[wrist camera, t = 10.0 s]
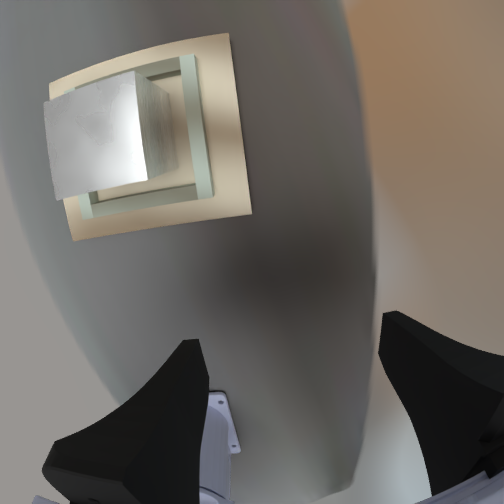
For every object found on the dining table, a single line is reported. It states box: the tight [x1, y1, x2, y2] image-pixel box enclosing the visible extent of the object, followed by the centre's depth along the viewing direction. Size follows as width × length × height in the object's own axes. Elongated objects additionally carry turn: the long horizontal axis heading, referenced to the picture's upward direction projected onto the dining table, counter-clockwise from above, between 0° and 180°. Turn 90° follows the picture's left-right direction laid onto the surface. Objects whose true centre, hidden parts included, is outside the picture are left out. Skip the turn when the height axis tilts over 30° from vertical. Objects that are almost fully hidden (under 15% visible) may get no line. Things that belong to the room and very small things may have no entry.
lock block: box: [44, 71, 179, 201], centre depth 13 cm, size 4×4×6 cm
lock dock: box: [49, 33, 252, 241], centre depth 16 cm, size 11×12×2 cm
